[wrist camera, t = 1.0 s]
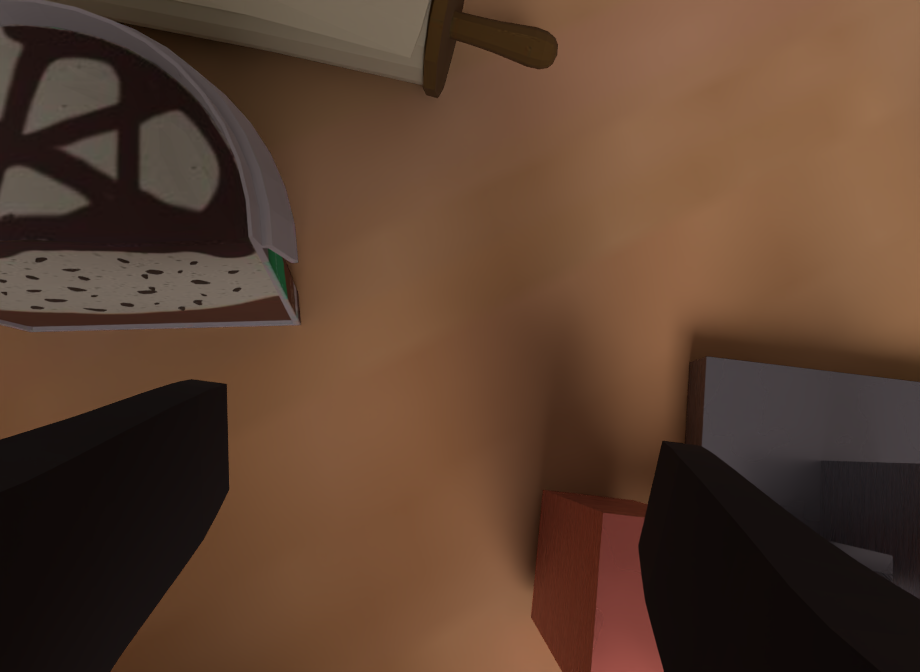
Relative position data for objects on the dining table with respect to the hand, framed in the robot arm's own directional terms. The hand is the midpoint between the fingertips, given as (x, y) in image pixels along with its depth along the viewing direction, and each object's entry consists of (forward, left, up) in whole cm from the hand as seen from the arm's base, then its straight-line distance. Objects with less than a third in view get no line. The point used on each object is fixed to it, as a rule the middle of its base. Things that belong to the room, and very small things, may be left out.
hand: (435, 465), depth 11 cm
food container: (+6, +10, -13) cm, 17 cm away
